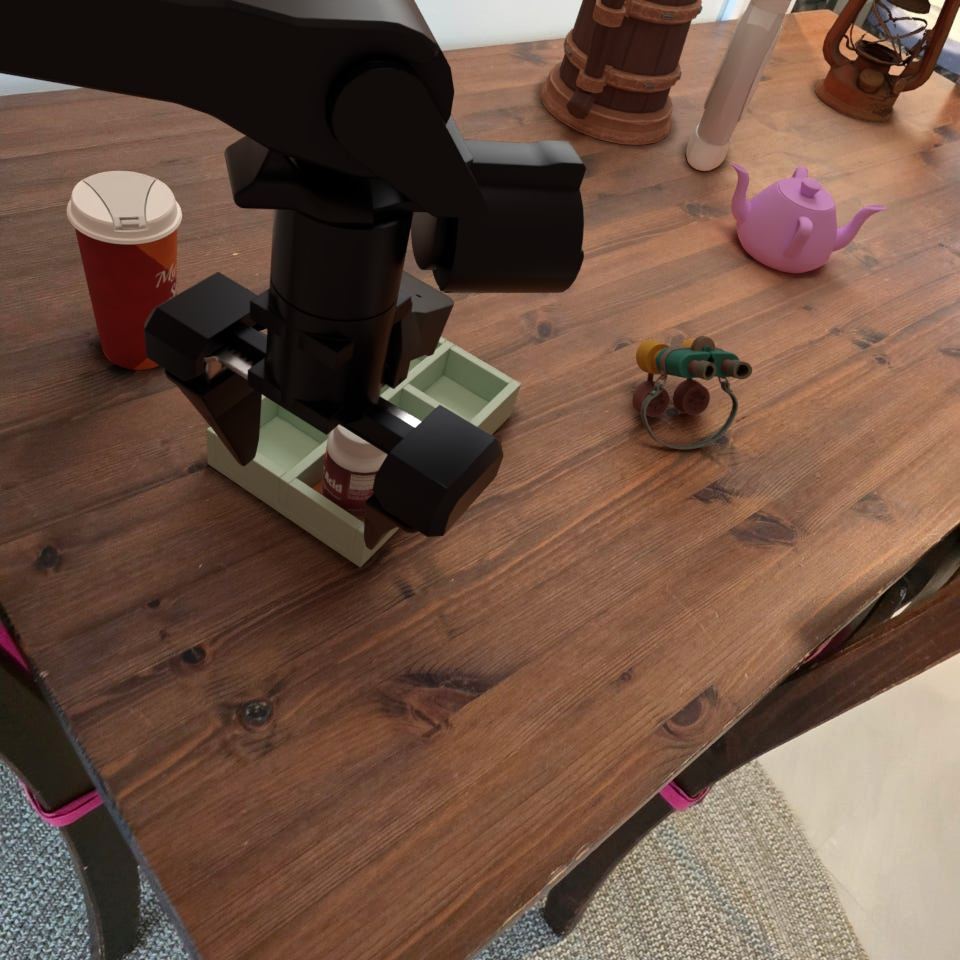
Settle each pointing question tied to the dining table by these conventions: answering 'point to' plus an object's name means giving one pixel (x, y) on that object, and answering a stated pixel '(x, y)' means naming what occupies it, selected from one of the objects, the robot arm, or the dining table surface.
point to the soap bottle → (736, 81)
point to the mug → (621, 69)
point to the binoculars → (689, 395)
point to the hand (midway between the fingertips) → (309, 501)
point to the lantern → (880, 60)
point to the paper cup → (126, 256)
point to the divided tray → (301, 448)
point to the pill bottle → (350, 471)
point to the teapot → (792, 222)
